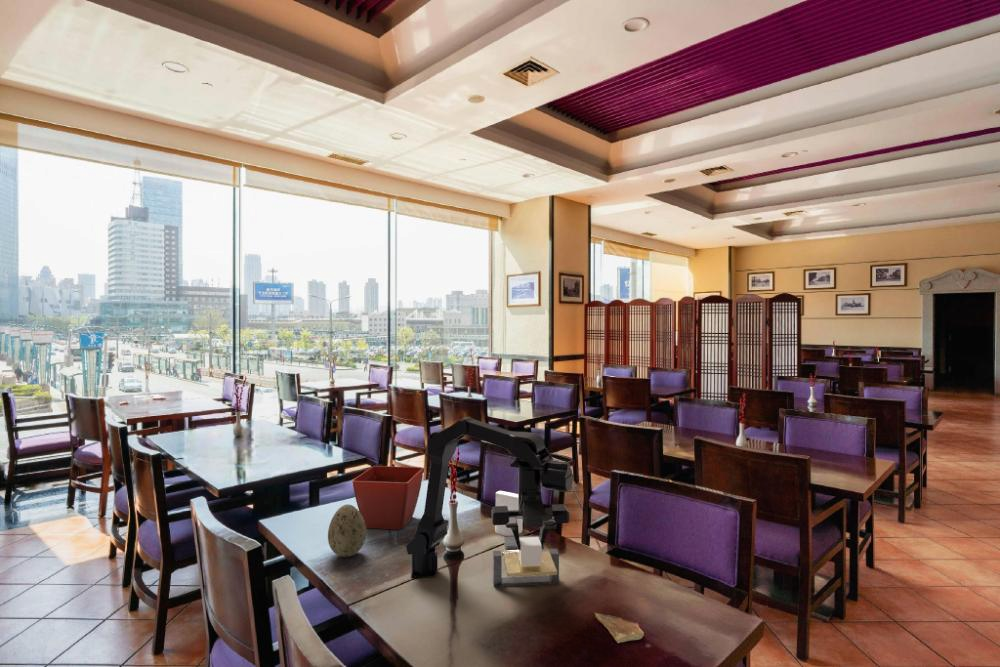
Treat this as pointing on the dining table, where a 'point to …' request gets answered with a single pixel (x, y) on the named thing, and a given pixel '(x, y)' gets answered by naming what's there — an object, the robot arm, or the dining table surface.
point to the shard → (620, 627)
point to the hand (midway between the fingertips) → (529, 549)
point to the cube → (530, 552)
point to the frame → (523, 580)
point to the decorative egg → (346, 531)
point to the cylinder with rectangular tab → (512, 504)
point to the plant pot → (388, 495)
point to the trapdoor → (516, 570)
